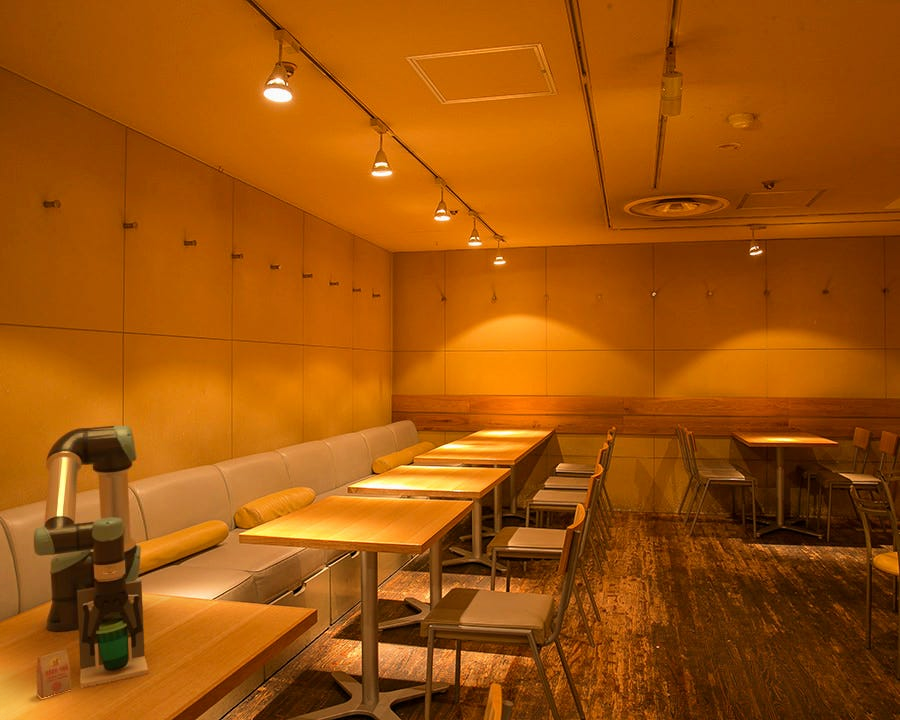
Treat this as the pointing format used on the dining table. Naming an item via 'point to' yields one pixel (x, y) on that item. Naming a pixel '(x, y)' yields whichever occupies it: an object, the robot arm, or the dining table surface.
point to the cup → (113, 643)
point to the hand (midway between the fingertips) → (113, 663)
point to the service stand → (86, 660)
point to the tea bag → (53, 674)
